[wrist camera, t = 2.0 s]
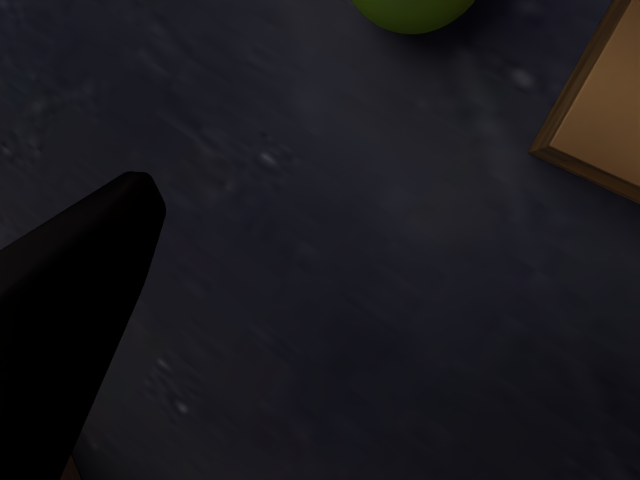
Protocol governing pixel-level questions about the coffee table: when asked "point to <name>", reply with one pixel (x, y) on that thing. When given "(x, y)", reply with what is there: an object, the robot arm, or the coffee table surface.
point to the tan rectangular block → (601, 108)
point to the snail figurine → (412, 13)
